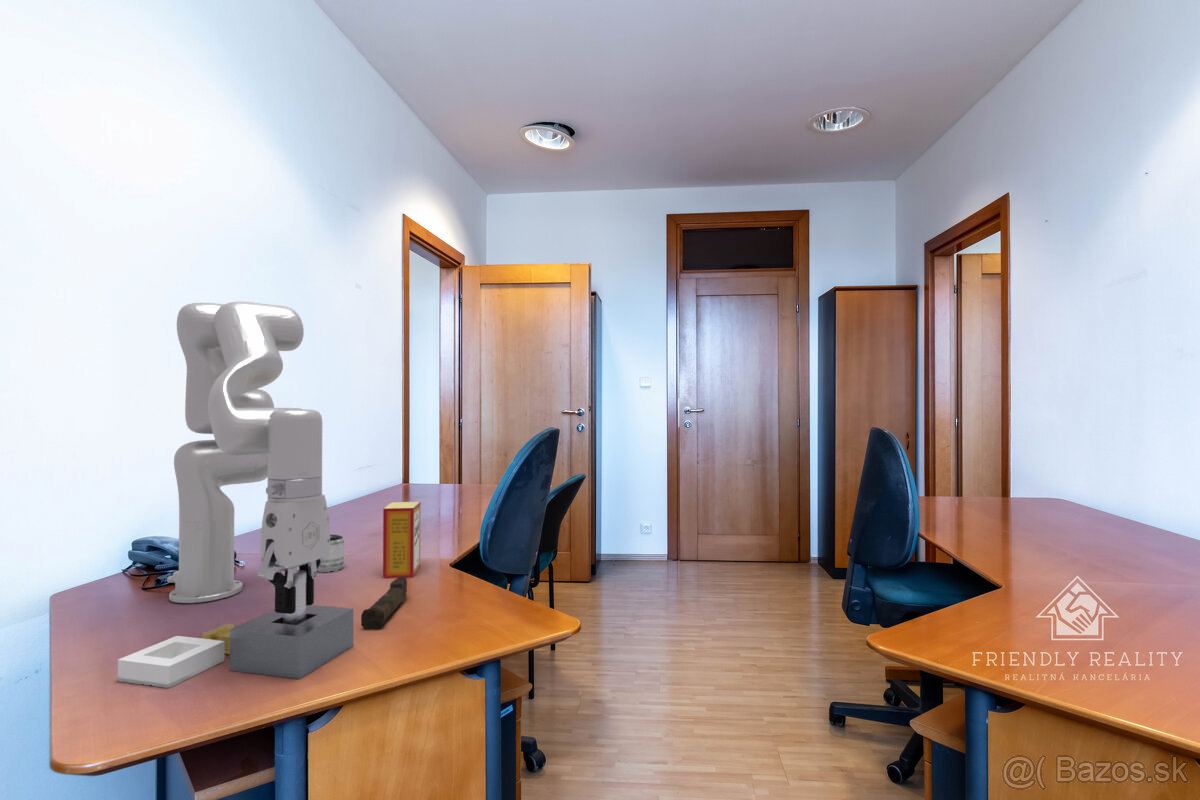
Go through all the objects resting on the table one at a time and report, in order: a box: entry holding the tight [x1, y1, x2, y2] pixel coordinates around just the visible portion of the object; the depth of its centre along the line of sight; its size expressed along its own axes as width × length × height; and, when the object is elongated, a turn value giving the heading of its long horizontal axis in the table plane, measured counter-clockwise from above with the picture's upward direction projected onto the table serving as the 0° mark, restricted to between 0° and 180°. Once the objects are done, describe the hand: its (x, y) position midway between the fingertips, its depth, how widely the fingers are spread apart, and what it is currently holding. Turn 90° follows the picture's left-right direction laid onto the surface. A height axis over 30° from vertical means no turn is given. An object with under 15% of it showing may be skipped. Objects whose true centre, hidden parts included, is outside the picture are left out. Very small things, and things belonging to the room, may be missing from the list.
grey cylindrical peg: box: [282, 569, 306, 625], centre depth 92 cm, size 3×3×13 cm
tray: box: [117, 635, 225, 689], centre depth 87 cm, size 9×9×3 cm
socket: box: [229, 604, 354, 680], centre depth 92 cm, size 12×12×6 cm
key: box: [201, 623, 235, 655], centre depth 94 cm, size 13×4×3 cm, turn 77°
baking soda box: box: [382, 501, 421, 579], centre depth 139 cm, size 10×6×16 cm
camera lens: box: [317, 534, 345, 573], centre depth 141 cm, size 6×6×8 cm
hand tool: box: [360, 576, 408, 630], centre depth 113 cm, size 19×4×5 cm, turn 179°
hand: (294, 607), depth 92 cm, fingers closed on grey cylindrical peg, 3 cm apart
